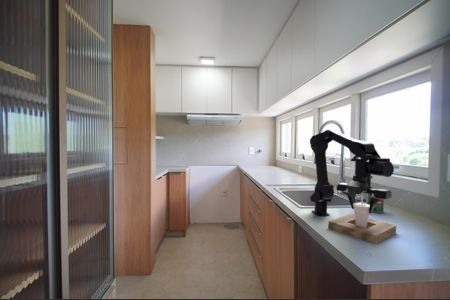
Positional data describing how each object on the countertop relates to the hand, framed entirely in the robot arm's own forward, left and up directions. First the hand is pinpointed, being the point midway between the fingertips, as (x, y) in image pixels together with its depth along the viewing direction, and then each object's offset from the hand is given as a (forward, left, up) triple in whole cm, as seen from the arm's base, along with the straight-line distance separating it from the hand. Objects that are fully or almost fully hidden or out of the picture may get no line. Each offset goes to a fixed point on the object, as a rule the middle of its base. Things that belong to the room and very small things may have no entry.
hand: (361, 211), depth 93 cm
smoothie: (0, 0, -7) cm, 7 cm away
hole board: (0, 0, -8) cm, 8 cm away
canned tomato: (-26, +26, -8) cm, 38 cm away
